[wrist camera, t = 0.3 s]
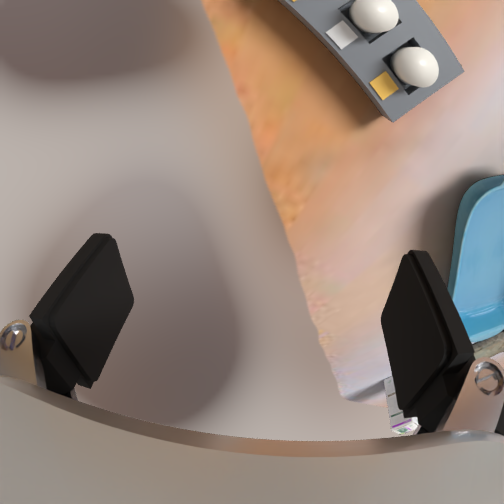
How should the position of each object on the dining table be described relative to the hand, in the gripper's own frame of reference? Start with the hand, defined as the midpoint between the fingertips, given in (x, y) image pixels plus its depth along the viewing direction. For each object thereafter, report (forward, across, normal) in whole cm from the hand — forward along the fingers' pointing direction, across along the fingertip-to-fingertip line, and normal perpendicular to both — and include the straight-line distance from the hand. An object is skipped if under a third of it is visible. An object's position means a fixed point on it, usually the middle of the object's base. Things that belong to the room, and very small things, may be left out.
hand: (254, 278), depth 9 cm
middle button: (+27, -9, -13) cm, 31 cm away
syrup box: (+30, -33, +57) cm, 73 cm away
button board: (+30, -10, -13) cm, 34 cm away
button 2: (+27, -14, -8) cm, 31 cm away
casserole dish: (+30, -39, +17) cm, 52 cm away
